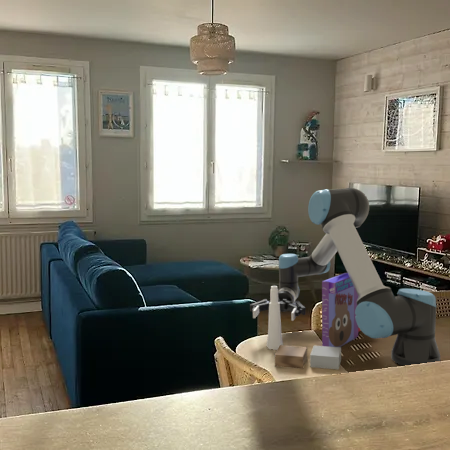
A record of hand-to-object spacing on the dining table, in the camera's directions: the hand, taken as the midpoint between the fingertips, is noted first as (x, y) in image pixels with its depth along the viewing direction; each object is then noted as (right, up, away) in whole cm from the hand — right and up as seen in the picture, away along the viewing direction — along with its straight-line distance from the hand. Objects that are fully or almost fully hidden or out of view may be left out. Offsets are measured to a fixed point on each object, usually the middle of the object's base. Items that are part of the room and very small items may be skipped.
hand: (272, 315), depth 196 cm
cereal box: (+25, -11, +6) cm, 28 cm away
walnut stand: (+5, -13, -12) cm, 18 cm away
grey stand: (+16, -13, -13) cm, 25 cm away
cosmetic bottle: (+1, -12, +3) cm, 12 cm away
